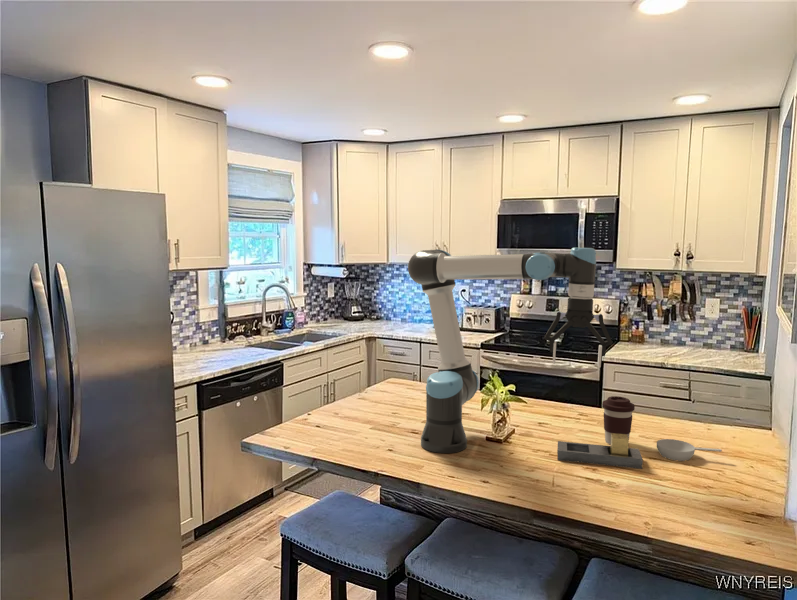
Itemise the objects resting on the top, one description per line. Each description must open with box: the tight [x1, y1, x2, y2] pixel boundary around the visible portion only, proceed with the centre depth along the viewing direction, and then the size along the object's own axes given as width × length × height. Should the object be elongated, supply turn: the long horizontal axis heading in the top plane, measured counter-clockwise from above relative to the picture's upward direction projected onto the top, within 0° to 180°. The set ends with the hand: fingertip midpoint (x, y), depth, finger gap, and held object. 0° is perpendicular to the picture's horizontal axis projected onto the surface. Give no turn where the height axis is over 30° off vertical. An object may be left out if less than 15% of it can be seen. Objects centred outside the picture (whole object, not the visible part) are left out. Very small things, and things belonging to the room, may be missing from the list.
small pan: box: [656, 438, 723, 462], centre depth 171 cm, size 11×18×4 cm, turn 68°
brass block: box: [610, 433, 630, 456], centre depth 167 cm, size 4×4×8 cm
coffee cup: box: [601, 395, 636, 446], centre depth 182 cm, size 10×10×15 cm
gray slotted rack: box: [556, 440, 644, 470], centre depth 169 cm, size 24×8×3 cm, turn 74°
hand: (576, 364), depth 173 cm, fingers open, 13 cm apart
